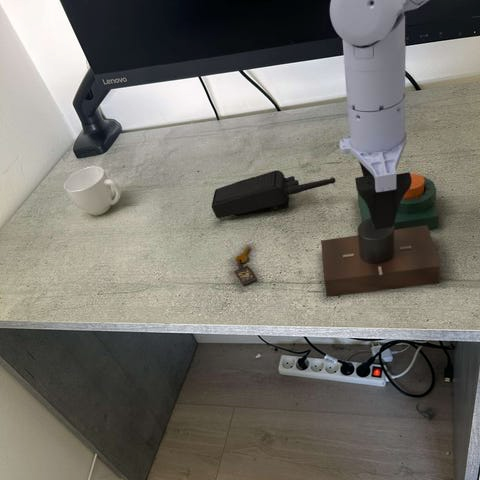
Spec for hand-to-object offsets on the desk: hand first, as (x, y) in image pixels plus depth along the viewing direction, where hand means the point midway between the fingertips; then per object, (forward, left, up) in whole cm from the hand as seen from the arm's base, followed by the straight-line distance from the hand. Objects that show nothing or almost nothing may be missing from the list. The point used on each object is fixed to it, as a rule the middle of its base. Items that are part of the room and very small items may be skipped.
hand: (379, 206), depth 60 cm
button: (-5, -10, -6) cm, 12 cm away
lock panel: (+1, +1, -9) cm, 9 cm away
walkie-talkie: (+15, -17, -9) cm, 24 cm away
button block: (-3, -10, -9) cm, 14 cm away
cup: (+48, -25, -9) cm, 55 cm away
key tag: (+19, -3, -9) cm, 21 cm away
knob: (+1, +1, -6) cm, 6 cm away
